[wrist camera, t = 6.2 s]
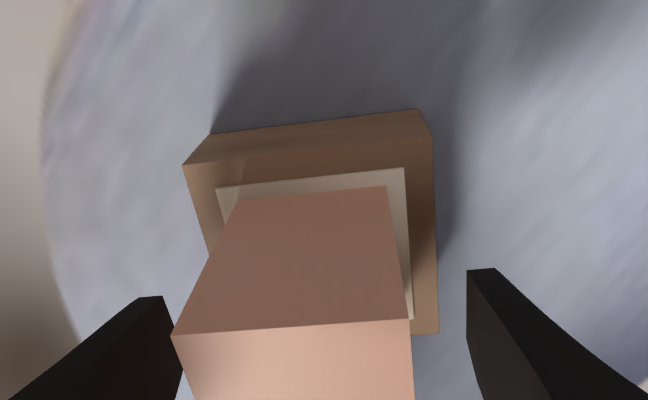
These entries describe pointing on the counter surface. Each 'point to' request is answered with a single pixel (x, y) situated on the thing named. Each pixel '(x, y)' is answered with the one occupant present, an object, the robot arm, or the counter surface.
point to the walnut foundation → (332, 183)
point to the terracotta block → (300, 303)
